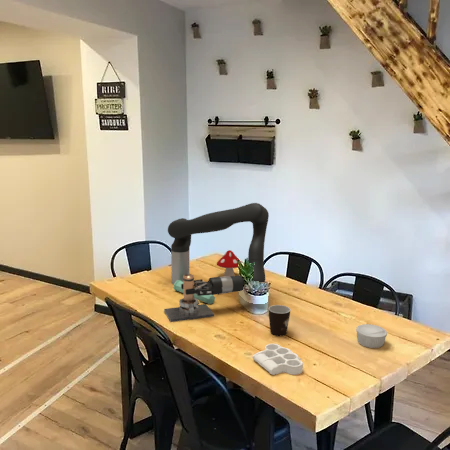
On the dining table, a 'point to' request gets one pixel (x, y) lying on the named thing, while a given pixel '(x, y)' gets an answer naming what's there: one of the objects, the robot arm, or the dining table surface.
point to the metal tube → (188, 284)
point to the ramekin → (371, 335)
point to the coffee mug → (279, 319)
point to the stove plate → (181, 317)
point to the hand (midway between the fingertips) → (183, 289)
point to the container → (204, 298)
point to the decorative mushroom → (228, 263)
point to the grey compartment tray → (279, 360)
